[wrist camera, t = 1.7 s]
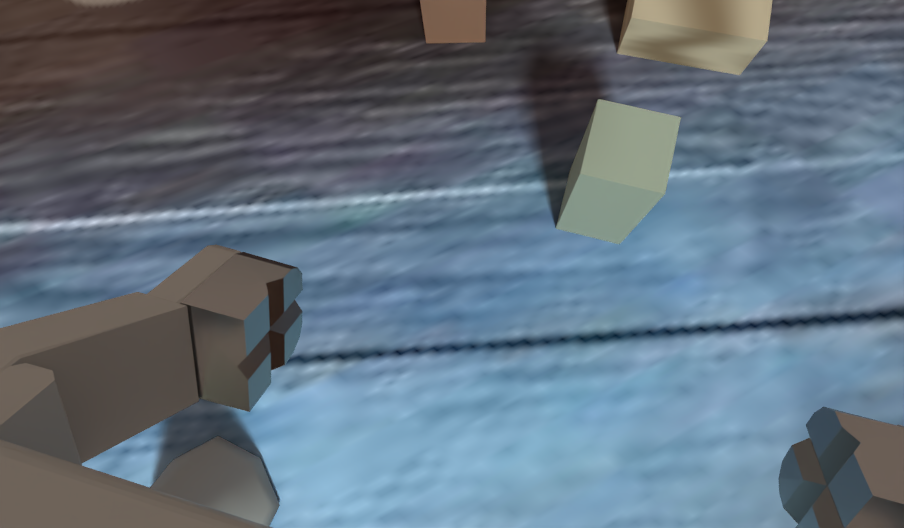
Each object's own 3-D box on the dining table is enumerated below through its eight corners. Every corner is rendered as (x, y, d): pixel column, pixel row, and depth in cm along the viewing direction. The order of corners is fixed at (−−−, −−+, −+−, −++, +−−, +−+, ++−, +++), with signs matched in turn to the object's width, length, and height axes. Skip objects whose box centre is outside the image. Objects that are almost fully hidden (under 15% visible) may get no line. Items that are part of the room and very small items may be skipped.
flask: (128, 505, 34) (-15, 548, 24) (221, 413, 35) (121, 418, 25) (208, 603, 32) (91, 691, 23) (303, 504, 33) (230, 547, 24)
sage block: (555, 228, 36) (580, 173, 28) (570, 170, 37) (598, 98, 28) (619, 244, 36) (664, 193, 27) (632, 184, 37) (680, 117, 28)
